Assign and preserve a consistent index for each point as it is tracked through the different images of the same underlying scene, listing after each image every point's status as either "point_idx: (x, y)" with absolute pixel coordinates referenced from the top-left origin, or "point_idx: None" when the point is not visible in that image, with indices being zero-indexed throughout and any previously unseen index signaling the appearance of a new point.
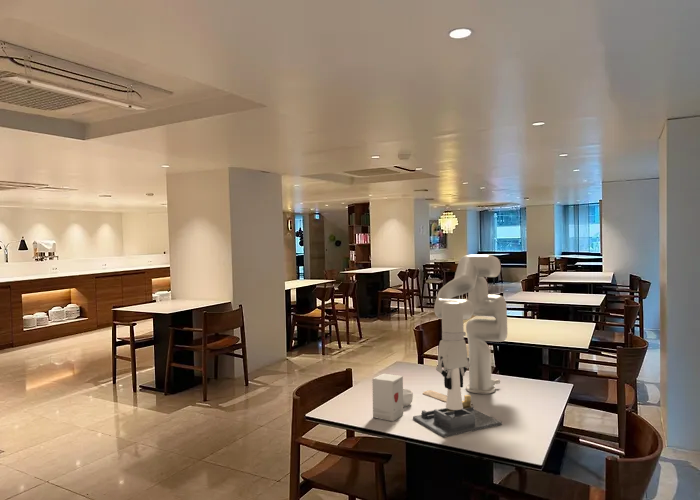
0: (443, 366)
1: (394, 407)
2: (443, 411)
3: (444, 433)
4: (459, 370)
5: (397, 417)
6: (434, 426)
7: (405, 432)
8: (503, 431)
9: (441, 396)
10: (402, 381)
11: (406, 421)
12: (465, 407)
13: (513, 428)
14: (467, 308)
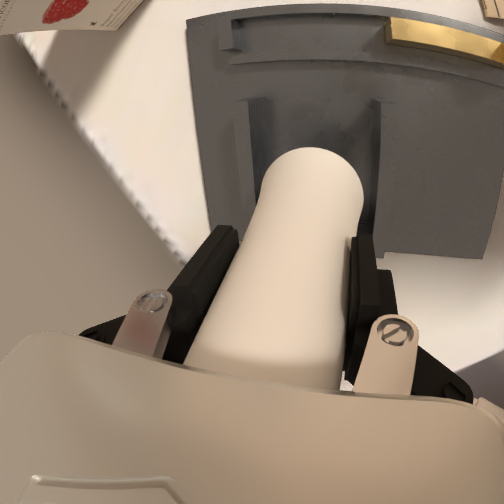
0: (98, 351)
1: (87, 21)
2: (361, 16)
3: None
4: (394, 374)
5: (136, 5)
6: (216, 159)
7: (119, 141)
8: (431, 295)
9: None
10: None
11: (157, 38)
12: (481, 60)
13: (474, 293)
14: None
